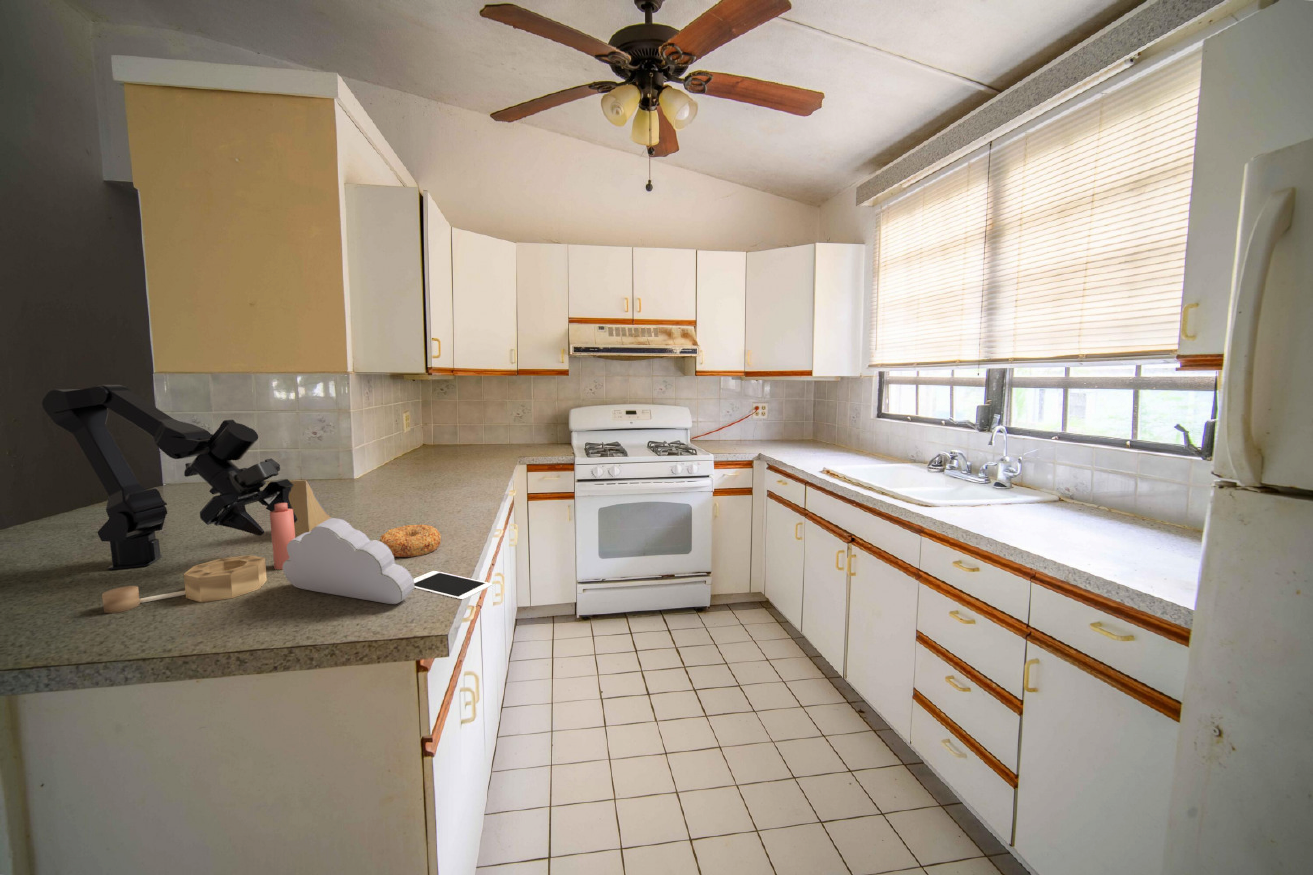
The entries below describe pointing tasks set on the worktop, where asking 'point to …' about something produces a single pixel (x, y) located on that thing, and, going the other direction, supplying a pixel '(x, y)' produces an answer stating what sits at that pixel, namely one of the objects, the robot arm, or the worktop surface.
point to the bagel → (411, 540)
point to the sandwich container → (305, 507)
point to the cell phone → (449, 585)
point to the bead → (225, 578)
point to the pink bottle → (281, 532)
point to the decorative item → (346, 564)
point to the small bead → (121, 599)
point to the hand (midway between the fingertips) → (279, 527)
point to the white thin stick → (162, 596)
